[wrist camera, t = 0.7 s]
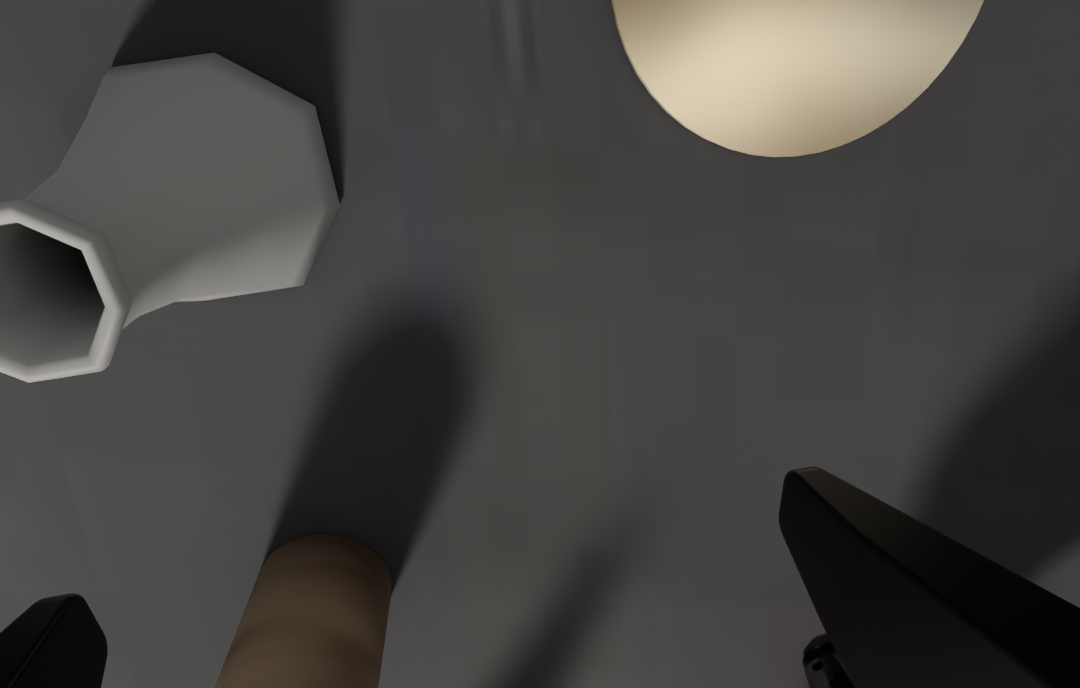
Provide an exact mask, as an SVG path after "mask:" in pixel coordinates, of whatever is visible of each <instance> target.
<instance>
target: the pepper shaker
mask: <svg viewBox="0 0 1080 688" xmlns="http://www.w3.org/2000/svg"><path fill="white" fill-rule="evenodd" d="M391 589H392V583H391V577H390V574H389V571H388V569H387V567H386V565H385V564H384V562H383V561H382V559H381V558H380V557H379V556H378V555H377V554H376V553H375V552H374V551H372V550H371V549H370V548H368V547H367V546H365V545H364V544H362V543H360V542H358V541H355V540H353V539H350V538H347V537H343V536H338V535H331V534H316V535H308V536H303V537H299V538H296V539H293V540H291V541H288V542H286V543H285V544H283V545H281V546H279V547H278V548H277V549H276V550H274V551H273V552H272V553H271V554H270V555H269V556H268V558H267V559H266V560H265V562H264V563H263V565H262V567H261V570H260V572H259V575H258V577H257V580H256V583H255V585H254V588H253V590H252V593H251V595H250V598H249V601H248V603H247V606H246V608H245V611H244V614H243V616H242V619H241V621H240V624H239V626H238V629H237V632H236V634H235V637H234V639H233V642H232V645H231V647H230V650H229V652H228V655H227V657H226V660H225V663H224V665H223V668H222V670H221V673H220V675H219V678H218V681H217V683H216V686H215V688H378V685H379V678H380V671H381V663H382V656H383V649H384V642H385V634H386V627H387V620H388V612H389V605H390V598H391Z"/></svg>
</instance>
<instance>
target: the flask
mask: <svg viewBox="0 0 1080 688" xmlns="http://www.w3.org/2000/svg"><path fill="white" fill-rule="evenodd" d="M339 206H340V203H339V199H338V195H337V191H336V188H335V184H334V180H333V176H332V172H331V168H330V164H329V160H328V156H327V152H326V148H325V144H324V140H323V136H322V132H321V128H320V124H319V120H318V116H317V112H316V108H315V106H314V105H312V104H310V103H309V102H307V101H305V100H303V99H301V98H299V97H297V96H295V95H294V94H292V93H290V92H288V91H286V90H284V89H282V88H280V87H279V86H277V85H275V84H273V83H271V82H269V81H267V80H265V79H264V78H262V77H260V76H258V75H256V74H254V73H252V72H250V71H248V70H247V69H245V68H243V67H241V66H239V65H237V64H235V63H233V62H232V61H230V60H228V59H226V58H224V57H222V56H220V55H218V54H217V53H208V54H200V55H193V56H186V57H179V58H172V59H165V60H158V61H151V62H144V63H137V64H130V65H123V66H116V67H109V68H108V70H107V72H106V74H105V76H104V77H103V79H102V81H101V84H100V86H99V88H98V91H97V93H96V95H95V98H94V100H93V103H92V105H91V107H90V110H89V112H88V114H87V117H86V119H85V121H84V123H83V125H82V126H81V128H80V130H79V132H78V134H77V136H76V137H75V139H74V141H73V143H72V145H71V147H70V148H69V150H68V152H67V154H66V156H65V158H64V159H63V161H62V163H61V165H60V167H59V169H58V170H57V171H56V172H55V173H54V174H53V175H51V176H50V177H49V178H48V179H47V180H46V181H45V182H43V183H42V184H41V185H40V186H39V187H38V188H36V189H35V190H34V191H33V192H32V193H31V194H29V195H28V196H27V197H26V198H25V199H24V200H13V201H6V202H0V372H2V373H4V374H7V375H10V376H12V377H15V378H18V379H20V380H23V381H26V382H28V383H30V382H37V381H43V380H49V379H56V378H62V377H69V376H75V375H81V374H88V373H94V372H100V371H103V370H104V369H105V368H107V367H108V366H109V363H110V361H111V359H112V357H113V354H114V351H115V348H116V346H117V343H118V340H119V338H120V335H121V332H122V330H123V329H124V328H125V327H126V326H127V325H128V324H130V323H131V322H132V321H133V320H135V319H136V318H137V317H138V316H141V315H143V314H146V313H148V312H151V311H153V310H156V309H158V308H161V307H163V306H166V305H168V304H171V303H173V302H176V301H204V300H212V299H219V298H225V297H232V296H238V295H244V294H251V293H257V292H264V291H270V290H277V289H283V288H290V287H296V286H303V285H304V283H305V281H306V278H307V276H308V274H309V272H310V270H311V268H312V265H313V263H314V261H315V259H316V257H317V254H318V252H319V250H320V248H321V246H322V243H323V241H324V239H325V237H326V235H327V233H328V230H329V228H330V226H331V224H332V222H333V219H334V217H335V215H336V213H337V211H338V208H339Z"/></svg>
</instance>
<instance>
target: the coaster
mask: <svg viewBox="0 0 1080 688" xmlns="http://www.w3.org/2000/svg"><path fill="white" fill-rule="evenodd" d="M983 1H984V0H610V3H611V8H612V12H613V17H614V22H615V26H616V29H617V32H618V35H619V37H620V40H621V43H622V46H623V49H624V51H625V53H626V55H627V57H628V59H629V61H630V63H631V65H632V67H633V69H634V71H635V73H636V75H637V76H638V78H639V79H640V81H641V82H642V84H643V85H644V87H645V88H646V90H647V91H648V92H649V94H650V95H651V96H652V97H653V98H654V99H655V101H656V102H657V103H658V104H659V105H660V106H661V107H662V108H663V109H664V110H665V112H667V113H668V114H669V115H670V116H672V117H673V118H674V119H675V120H676V121H678V122H679V123H680V124H681V125H682V126H684V127H685V128H687V129H689V130H690V131H692V132H694V133H695V134H697V135H699V136H700V137H702V138H704V139H706V140H709V141H711V142H714V143H716V144H718V145H721V146H723V147H725V148H728V149H731V150H735V151H739V152H743V153H746V154H750V155H759V156H768V157H790V156H801V155H807V154H813V153H819V152H822V151H825V150H829V149H832V148H835V147H839V146H842V145H844V144H846V143H849V142H851V141H853V140H855V139H858V138H860V137H862V136H864V135H866V134H868V133H870V132H871V131H873V130H875V129H876V128H878V127H880V126H881V125H883V124H885V123H886V122H888V121H889V120H890V119H892V118H893V117H894V116H896V115H897V114H898V113H900V112H901V111H902V110H904V109H905V108H906V107H908V106H909V105H910V104H911V103H912V102H913V101H914V100H915V99H916V98H917V97H918V96H919V95H920V94H921V93H922V92H923V91H925V90H926V89H927V88H928V86H929V85H930V84H931V83H932V82H933V81H934V80H935V78H936V77H937V76H938V75H939V74H940V73H941V71H942V70H943V69H944V68H945V67H946V65H947V64H948V62H949V61H950V60H951V58H952V57H953V55H954V54H955V53H956V51H957V50H958V48H959V47H960V45H961V44H962V42H963V40H964V39H965V37H966V35H967V33H968V32H969V30H970V28H971V26H972V24H973V23H974V21H975V19H976V17H977V15H978V12H979V10H980V8H981V6H982V3H983Z"/></svg>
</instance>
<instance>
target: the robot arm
mask: <svg viewBox="0 0 1080 688" xmlns="http://www.w3.org/2000/svg"><path fill="white" fill-rule="evenodd" d="M779 524H780V529H781V532H782V534H783V537H784V539H785V541H786V544H787V546H788V548H789V550H790V553H791V555H792V557H793V559H794V562H795V564H796V566H797V569H798V571H799V573H800V575H801V578H802V580H803V582H804V584H805V587H806V589H807V591H808V594H809V596H810V598H811V600H812V603H813V605H814V607H815V609H816V612H817V614H818V616H819V618H820V621H821V623H822V625H823V627H824V629H825V631H826V633H827V635H828V637H829V639H830V641H831V643H832V645H829V646H826V647H823V648H820V649H818V650H815V651H812V652H809V653H807V654H806V655H805V656H804V658H803V666H804V669H805V673H806V677H807V680H808V684H809V687H810V688H1080V608H1079V607H1077V606H1075V605H1073V604H1071V603H1069V602H1068V601H1066V600H1064V599H1062V598H1060V597H1058V596H1057V595H1055V594H1053V593H1051V592H1049V591H1047V590H1045V589H1044V588H1042V587H1040V586H1038V585H1036V584H1034V583H1032V582H1031V581H1029V580H1027V579H1025V578H1023V577H1021V576H1019V575H1018V574H1016V573H1014V572H1012V571H1010V570H1008V569H1007V568H1005V567H1003V566H1001V565H999V564H997V563H995V562H994V561H992V560H990V559H988V558H986V557H984V556H982V555H981V554H979V553H977V552H975V551H973V550H971V549H970V548H968V547H966V546H964V545H962V544H960V543H958V542H957V541H955V540H953V539H951V538H949V537H947V536H945V535H944V534H942V533H940V532H938V531H936V530H934V529H932V528H931V527H929V526H927V525H925V524H923V523H921V522H920V521H918V520H916V519H914V518H912V517H910V516H908V515H907V514H905V513H903V512H901V511H899V510H897V509H895V508H894V507H892V506H890V505H888V504H886V503H884V502H882V501H881V500H879V499H877V498H875V497H873V496H871V495H870V494H868V493H866V492H864V491H862V490H860V489H858V488H857V487H855V486H853V485H851V484H849V483H847V482H845V481H844V480H842V479H840V478H838V477H836V476H834V475H833V474H831V473H829V472H827V471H825V470H823V469H821V468H819V467H808V468H802V469H796V470H791V471H789V472H788V473H787V474H786V476H785V479H784V484H783V490H782V497H781V503H780V510H779ZM106 660H107V641H106V637H105V635H104V633H103V631H102V629H101V627H100V626H99V624H98V622H97V620H96V619H95V617H94V615H93V613H92V611H91V610H90V608H89V606H88V604H87V602H86V601H85V599H84V598H83V597H82V596H80V595H79V594H73V593H72V594H65V595H59V596H54V597H48V598H44V599H41V600H39V601H37V602H36V603H34V604H33V605H32V606H30V607H29V608H28V609H27V610H26V611H25V612H24V613H22V614H21V615H20V616H19V617H18V618H17V619H16V620H14V621H13V622H12V623H11V624H10V625H9V626H8V627H6V628H5V629H4V630H3V631H2V632H1V633H0V688H101V685H102V680H103V675H104V670H105V665H106Z"/></svg>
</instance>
